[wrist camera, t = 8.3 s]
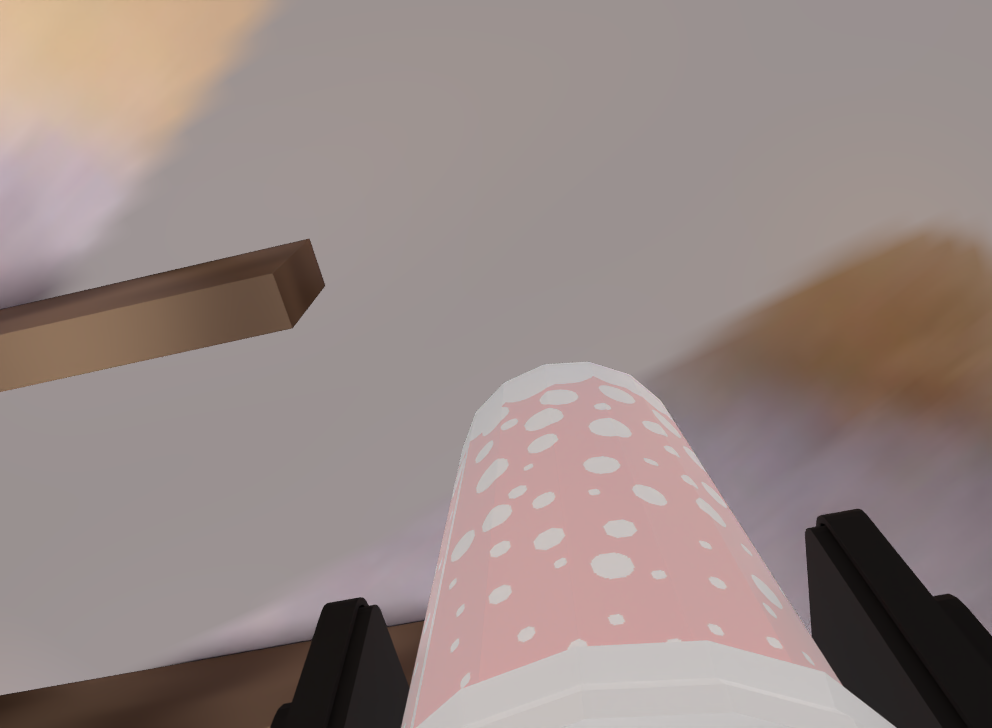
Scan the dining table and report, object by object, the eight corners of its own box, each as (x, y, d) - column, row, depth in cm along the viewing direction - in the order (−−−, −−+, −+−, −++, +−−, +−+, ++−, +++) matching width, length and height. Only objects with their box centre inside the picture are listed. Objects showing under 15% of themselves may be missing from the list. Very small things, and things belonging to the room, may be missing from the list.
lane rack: (309, 238, 14) (272, 273, 12) (446, 647, 18) (439, 732, 16) (-345, 388, 15) (-492, 446, 13) (-76, 737, 20) (-152, 827, 17)
